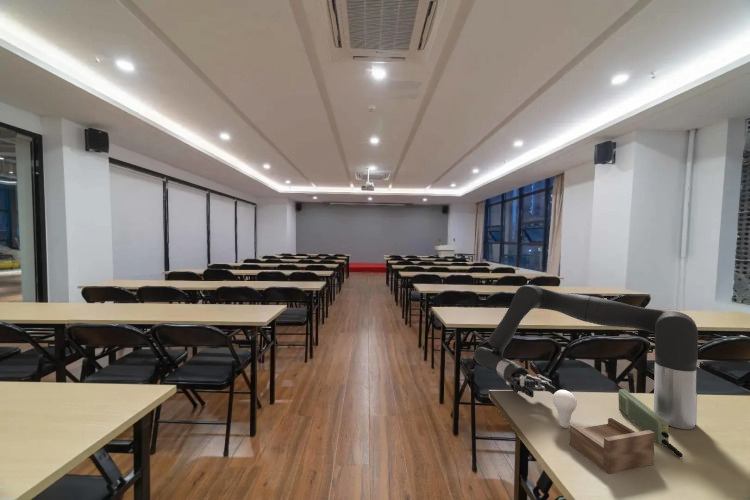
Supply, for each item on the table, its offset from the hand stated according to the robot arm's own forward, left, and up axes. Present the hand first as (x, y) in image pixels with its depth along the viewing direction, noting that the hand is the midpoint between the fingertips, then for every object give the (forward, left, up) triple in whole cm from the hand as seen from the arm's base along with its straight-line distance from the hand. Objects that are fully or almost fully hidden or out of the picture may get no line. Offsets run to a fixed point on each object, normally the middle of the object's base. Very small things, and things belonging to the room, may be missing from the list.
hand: (544, 393), depth 102 cm
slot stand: (-2, +20, -6) cm, 21 cm away
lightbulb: (0, +8, -7) cm, 11 cm away
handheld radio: (-22, +15, -7) cm, 28 cm away
